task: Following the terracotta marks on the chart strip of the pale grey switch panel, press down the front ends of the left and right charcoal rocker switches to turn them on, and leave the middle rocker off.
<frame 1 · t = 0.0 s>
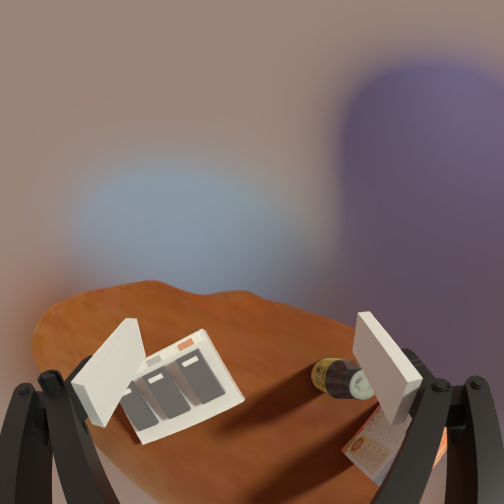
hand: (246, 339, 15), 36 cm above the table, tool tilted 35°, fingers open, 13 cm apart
switch middle: (166, 393, 41), point 5 cm above the table, hinge at -13.0°
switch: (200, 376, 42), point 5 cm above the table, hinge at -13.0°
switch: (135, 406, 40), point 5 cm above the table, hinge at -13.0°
cracker box: (372, 429, 41), on the table
sauce bottle: (325, 374, 46), on the table
switch panel: (174, 389, 46), on the table
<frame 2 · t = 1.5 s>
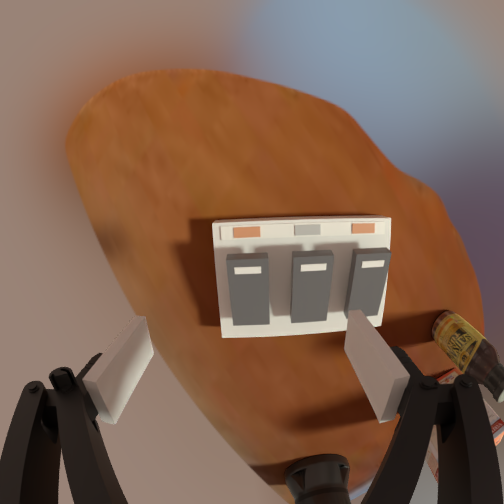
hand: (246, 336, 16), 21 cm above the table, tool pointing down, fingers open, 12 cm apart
switch middle: (310, 288, 31), point 5 cm above the table, hinge at -13.0°
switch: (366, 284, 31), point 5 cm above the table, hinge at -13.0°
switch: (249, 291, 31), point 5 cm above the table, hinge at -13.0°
cracker box: (428, 390, 42), on the table
sauce bottle: (441, 325, 38), on the table
switch panel: (303, 273, 36), on the table
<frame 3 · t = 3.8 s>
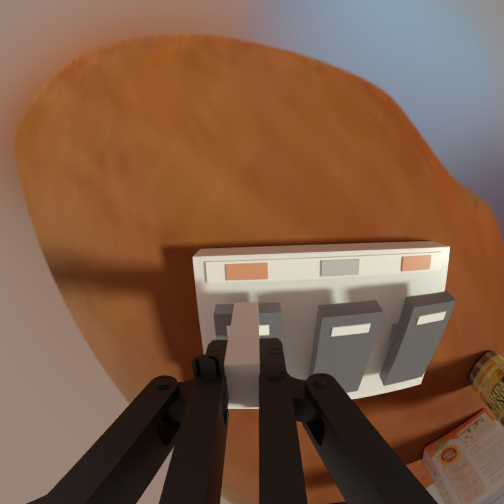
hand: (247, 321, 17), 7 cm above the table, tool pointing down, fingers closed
switch middle: (341, 354, 19), point 5 cm above the table, hinge at -13.0°
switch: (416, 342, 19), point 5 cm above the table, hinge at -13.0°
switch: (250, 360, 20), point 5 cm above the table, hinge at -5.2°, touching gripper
cracker box: (453, 434, 30), on the table
sauce bottle: (480, 367, 27), on the table
switch panel: (326, 323, 24), on the table
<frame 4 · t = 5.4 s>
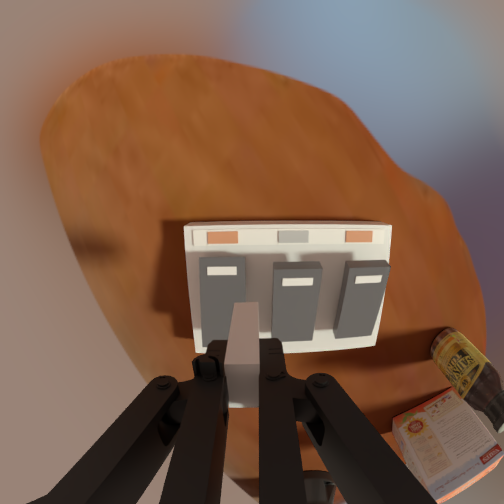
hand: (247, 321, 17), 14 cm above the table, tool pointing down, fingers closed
switch middle: (294, 305, 27), point 5 cm above the table, hinge at -13.0°
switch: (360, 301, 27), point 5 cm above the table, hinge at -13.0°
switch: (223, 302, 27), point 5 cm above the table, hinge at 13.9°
cracker box: (422, 409, 38), on the table
sauce bottle: (441, 343, 34), on the table
switch panel: (288, 285, 32), on the table
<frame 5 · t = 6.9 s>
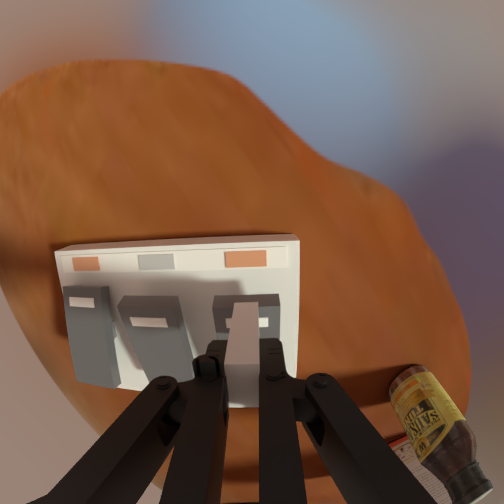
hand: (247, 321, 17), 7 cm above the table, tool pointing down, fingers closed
switch middle: (161, 346, 20), point 5 cm above the table, hinge at -13.0°
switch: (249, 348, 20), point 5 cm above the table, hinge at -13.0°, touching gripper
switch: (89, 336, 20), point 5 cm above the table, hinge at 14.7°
cracker box: (388, 449, 31), on the table
sauce bottle: (406, 382, 28), on the table
switch panel: (177, 316, 25), on the table
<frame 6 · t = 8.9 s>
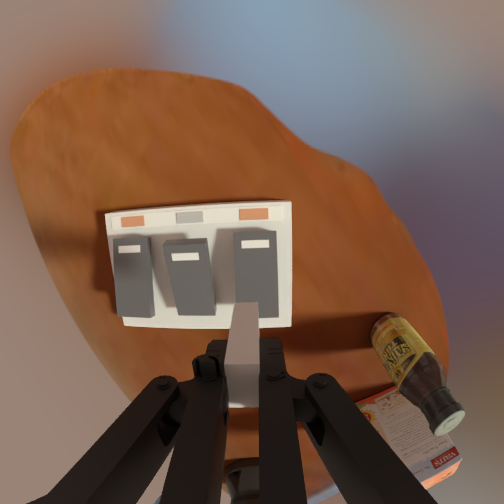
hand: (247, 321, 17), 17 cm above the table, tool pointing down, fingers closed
switch middle: (191, 279, 29), point 5 cm above the table, hinge at -13.0°
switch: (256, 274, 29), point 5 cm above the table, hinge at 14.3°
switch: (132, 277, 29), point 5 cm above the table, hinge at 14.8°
cracker box: (377, 401, 41), on the table
sauce bottle: (385, 329, 37), on the table
switch panel: (200, 264, 34), on the table
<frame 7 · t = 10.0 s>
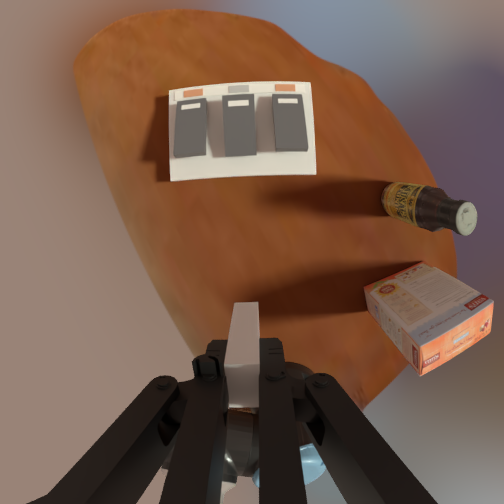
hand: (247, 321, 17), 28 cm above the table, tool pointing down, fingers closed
switch middle: (239, 125, 36), point 5 cm above the table, hinge at -13.0°
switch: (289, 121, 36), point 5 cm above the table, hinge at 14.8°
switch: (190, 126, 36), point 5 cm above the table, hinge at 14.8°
cracker box: (396, 286, 47), on the table
sauce bottle: (393, 200, 43), on the table
switch panel: (241, 130, 41), on the table
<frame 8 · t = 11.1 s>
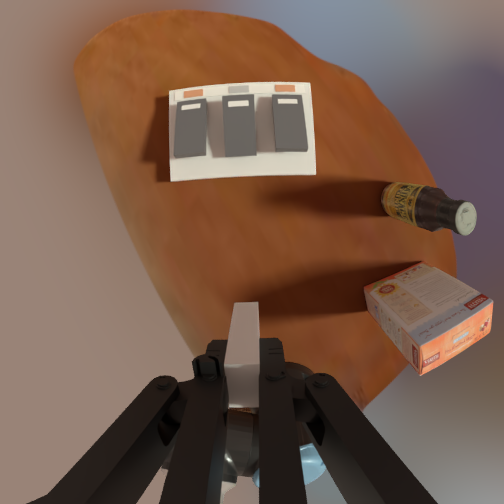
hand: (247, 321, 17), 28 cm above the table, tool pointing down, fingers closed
switch middle: (239, 125, 36), point 5 cm above the table, hinge at -13.0°
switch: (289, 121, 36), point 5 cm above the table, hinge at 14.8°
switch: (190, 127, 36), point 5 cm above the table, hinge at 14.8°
cracker box: (396, 286, 47), on the table
sauce bottle: (393, 200, 43), on the table
switch panel: (241, 131, 41), on the table
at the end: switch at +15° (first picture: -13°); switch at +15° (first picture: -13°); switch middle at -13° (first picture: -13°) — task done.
